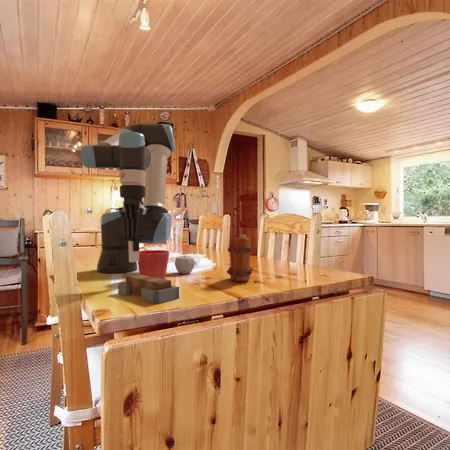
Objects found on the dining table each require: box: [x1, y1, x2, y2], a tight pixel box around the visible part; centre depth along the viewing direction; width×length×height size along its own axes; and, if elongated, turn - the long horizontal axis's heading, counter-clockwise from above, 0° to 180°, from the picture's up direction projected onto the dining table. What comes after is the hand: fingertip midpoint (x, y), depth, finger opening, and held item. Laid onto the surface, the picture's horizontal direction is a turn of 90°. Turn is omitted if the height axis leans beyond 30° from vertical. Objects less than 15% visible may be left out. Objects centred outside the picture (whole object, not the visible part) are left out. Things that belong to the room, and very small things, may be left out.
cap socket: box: [140, 284, 180, 305], centre depth 87 cm, size 6×8×3 cm
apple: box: [174, 255, 196, 275], centre depth 125 cm, size 8×8×7 cm
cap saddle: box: [117, 281, 131, 297], centre depth 95 cm, size 4×8×3 cm, turn 139°
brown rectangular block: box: [125, 273, 172, 298], centre depth 91 cm, size 15×4×5 cm, turn 49°
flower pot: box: [137, 249, 170, 279], centre depth 112 cm, size 11×11×10 cm
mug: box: [226, 233, 254, 283], centre depth 114 cm, size 15×8×15 cm, turn 168°
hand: (134, 261), depth 103 cm, fingers closed
